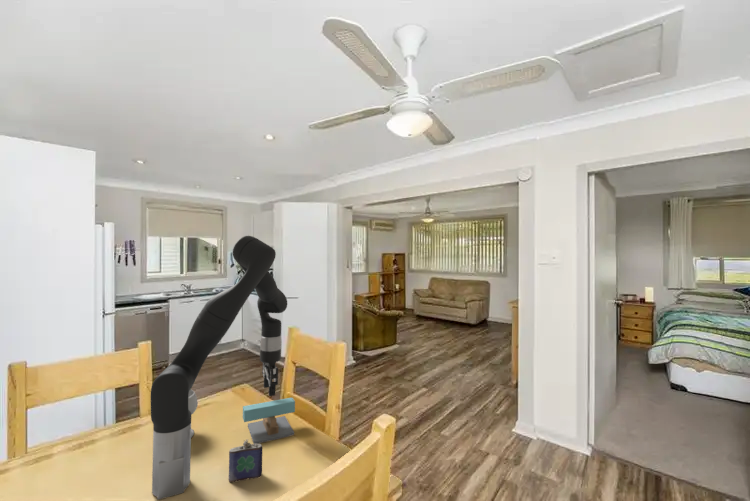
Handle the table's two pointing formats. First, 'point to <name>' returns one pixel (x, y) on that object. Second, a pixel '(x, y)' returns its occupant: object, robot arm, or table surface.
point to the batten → (268, 409)
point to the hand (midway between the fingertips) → (269, 391)
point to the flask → (245, 462)
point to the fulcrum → (270, 429)
